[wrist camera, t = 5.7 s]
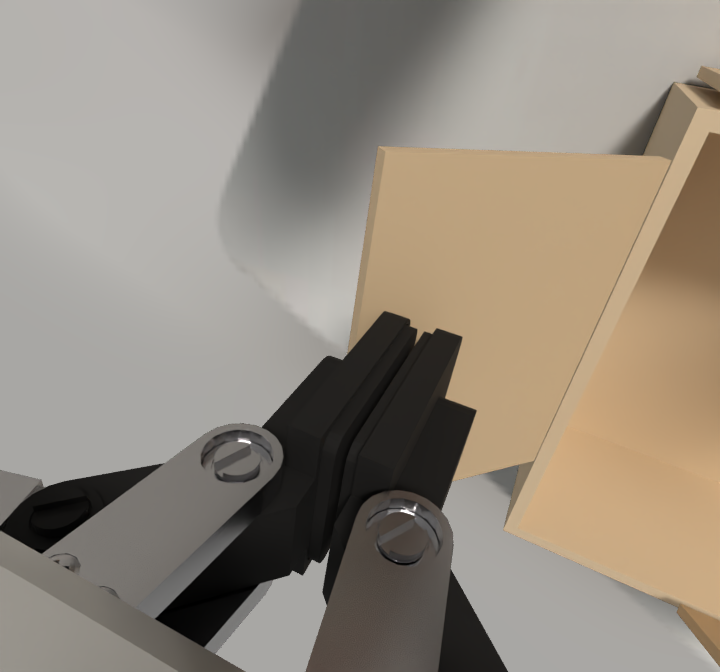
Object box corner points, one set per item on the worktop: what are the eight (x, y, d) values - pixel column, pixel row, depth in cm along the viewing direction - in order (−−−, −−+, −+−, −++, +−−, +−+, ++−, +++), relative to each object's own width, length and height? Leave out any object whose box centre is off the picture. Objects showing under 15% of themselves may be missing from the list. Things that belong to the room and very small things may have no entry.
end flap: (671, 160, 11) (385, 151, 8) (533, 460, 16) (329, 512, 13) (659, 156, 11) (377, 146, 8) (527, 453, 16) (325, 503, 13)
